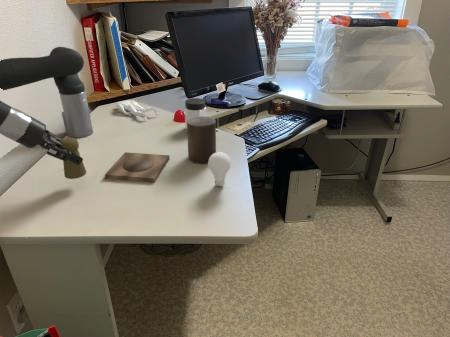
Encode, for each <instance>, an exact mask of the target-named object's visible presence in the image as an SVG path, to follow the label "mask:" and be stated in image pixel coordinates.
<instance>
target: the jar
mask: <svg viewBox="0 0 450 337" xmlns="http://www.w3.org/2000/svg"><path fill="white" fill-rule="evenodd" d="M199 116H200V117H201V116H203V117H207V107H206V100H205V99H203V98H199V97H198V98H197V97H196V98H195V97H193V98H188V99H186V100H185V102H184V122H185V123H184V124H185V125H184V126H185V130H187V120H188V119H190V118H193V117H199Z"/></svg>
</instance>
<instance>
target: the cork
mask: <svg viewBox="0 0 450 337" xmlns="http://www.w3.org/2000/svg"><path fill="white" fill-rule="evenodd" d="M61 139H62V138H61ZM60 143H61V144H63V145H64V146H65V149H67V150H69V151H71V152H72V153H74V154H76V155H78V156H80V157H81V154H80V152H79V147H80V142H79V141H78V139H76V137H66V138H63V139H62V140H61V141H60ZM59 148H61V147H59ZM62 155H65V154H62ZM62 161H63V160H62ZM62 165H63V172H64V174H63V175H64V178H65V179H68V180H74V179H80V178H82V177H84V176H85V175H86V174H87V170H86V167H85V164H84V162H83V161H82V162H81V164H80V165H77V164H75V163H73V162H71V161H70V160H68V159H67V161H66V162H65V161H63V164H62Z"/></svg>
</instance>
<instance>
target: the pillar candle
mask: <svg viewBox="0 0 450 337" xmlns="http://www.w3.org/2000/svg"><path fill="white" fill-rule="evenodd" d="M216 123H217V122H216V119H215V118H214V117H211V116H206V117H203V116H201V117H200V116H199V117H193V118H190V119H188V120H187V129H186V130H187V155H188V160H189V161H191V162H192V163H194V164H198V165H199V164H201V165H202V164H203V165H204V164H208V161H209V158H210V156H211V155H212V154H214V153H216V152H217V130H216V128H217V127H216V126H217V125H216Z"/></svg>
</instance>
